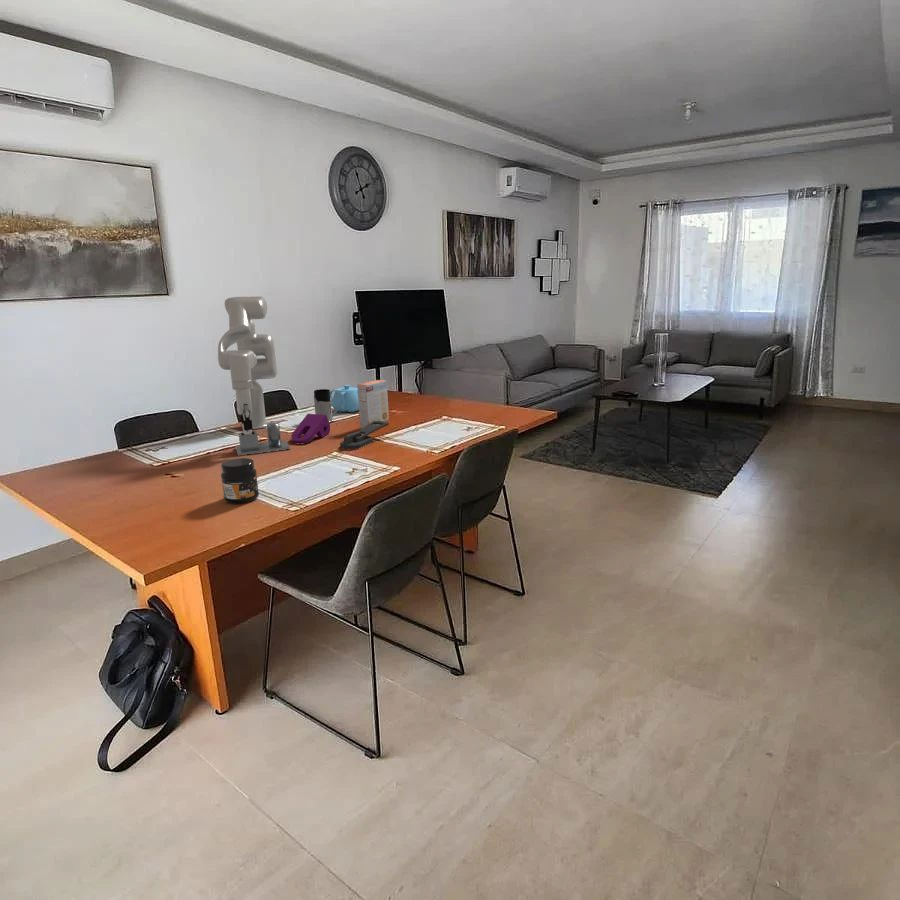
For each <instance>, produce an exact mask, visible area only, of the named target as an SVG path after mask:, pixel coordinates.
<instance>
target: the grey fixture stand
mask: <svg viewBox="0 0 900 900" xmlns="http://www.w3.org/2000/svg"><path fill="white" fill-rule="evenodd" d="M266 431H267V441H266V442H259V437H258V433H257V431H256V430H252V434H251V435H244V434H243V431H241V432H238V438H239V440H238V441H239V444H238V445H234V448H235V451H237V452H236V453H237V456H238V457H241V456H240V455H243V456H248V455H247V454H251V455H255V454H254V453H259V454H264V453H263V452H267V453H272V452H271V451H276V452H280V451H279V450H284V451H287V450H286V449H290V450H291V446H290V445H289V443H288V442H287V440H286V439H283V440H281V429H280V423H279V422H269V423H268V424H267V427H266Z"/></svg>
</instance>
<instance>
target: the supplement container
mask: <svg viewBox="0 0 900 900" xmlns="http://www.w3.org/2000/svg"><path fill="white" fill-rule="evenodd" d="M220 467H221V473H220V478H221V484H222V485H221V486H222V492H223V494H222V495H223V500H224V501H225V502H226V503H228V504H233V505H234V504H235V505H236V504H237V505H238V504H240V505H241V504H246V503H250V502H252V501H254V500H257V498H258V497H259V496H260V493H259V492H260V491H259V485H258V476H257V473H258V471H257V469H255V461H254V460H253V459H252V458H248V457H238V458H236V457H235V458H232V459H228V460H227V459H226V460H225V461H223V462H221V464H220Z"/></svg>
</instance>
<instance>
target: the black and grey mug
mask: <svg viewBox="0 0 900 900" xmlns="http://www.w3.org/2000/svg"><path fill="white" fill-rule="evenodd" d="M330 391H331V390H330V389H328V388H326V389H325V388H323V389H322V388H321V389H320V388H319V389H315V390H314V391H313V400H314V414H319V415H326V416H327V419H328V421H332V420H333V421H334V419H333V417H334V415H335V414H336V413H338V410H339V409H340V408H341V406H342V404H343V395H342V394H341V393H339V394H341V395H342V404H341V406H340V408H339V409H338V410H337V411H336V410H335V411H334V412H333V413H332V409H333V407H332V405H331V402H333V401H334V400H335V395H336V394H337V393H336V394H335V393H334V394H335V395H334V394H333V396H334V400H333V401H332V400H331V397H330Z"/></svg>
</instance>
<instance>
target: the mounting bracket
mask: <svg viewBox="0 0 900 900" xmlns="http://www.w3.org/2000/svg"><path fill="white" fill-rule="evenodd" d="M330 431H331V425H330V422H329V421H328V419H327V416H326V415H319V414H315V413H307V414H306V415H305V417H304V418H303V419H302V421H301V422H300V423H299V424H298V425H297V427H296V428H295V429H294V431H293V432H292V433H291V436H290V437H291V440H292V442H293V444H295V443H306V444H308V443H310V442H311V441H312V440H313V439H314V438H315V437H318V438H322V437H325V436H327V435H328V436H329V435H330ZM328 436H327V437H328ZM325 438H326V437H325Z"/></svg>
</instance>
